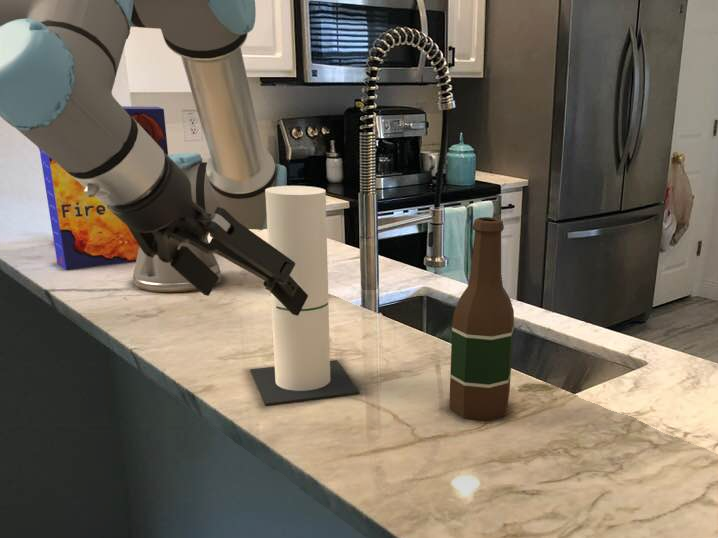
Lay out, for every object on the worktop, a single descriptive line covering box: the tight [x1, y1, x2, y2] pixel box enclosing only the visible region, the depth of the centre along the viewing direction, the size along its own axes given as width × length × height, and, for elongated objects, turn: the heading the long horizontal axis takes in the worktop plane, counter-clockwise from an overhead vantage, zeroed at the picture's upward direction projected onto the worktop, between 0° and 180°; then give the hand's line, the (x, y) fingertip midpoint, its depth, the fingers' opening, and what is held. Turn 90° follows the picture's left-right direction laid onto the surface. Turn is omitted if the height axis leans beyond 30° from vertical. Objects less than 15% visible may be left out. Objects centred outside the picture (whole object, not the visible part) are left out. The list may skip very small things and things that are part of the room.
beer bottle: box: [449, 216, 515, 422], centre depth 92 cm, size 8×8×24 cm
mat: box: [250, 359, 360, 406], centre depth 101 cm, size 12×12×1 cm
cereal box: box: [38, 105, 169, 271], centre depth 151 cm, size 22×6×30 cm, turn 132°
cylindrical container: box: [265, 185, 331, 391], centre depth 97 cm, size 7×7×25 cm
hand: (255, 295), depth 90 cm, fingers open, 13 cm apart
